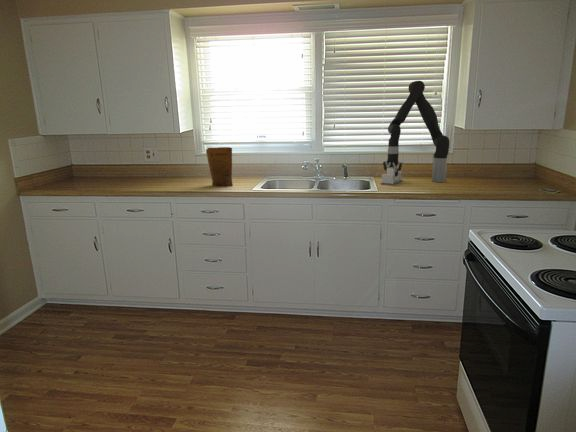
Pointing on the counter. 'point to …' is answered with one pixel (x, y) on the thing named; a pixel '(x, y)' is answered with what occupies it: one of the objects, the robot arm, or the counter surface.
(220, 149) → the pancake mix bag
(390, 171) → the block
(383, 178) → the rail
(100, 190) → the counter surface
